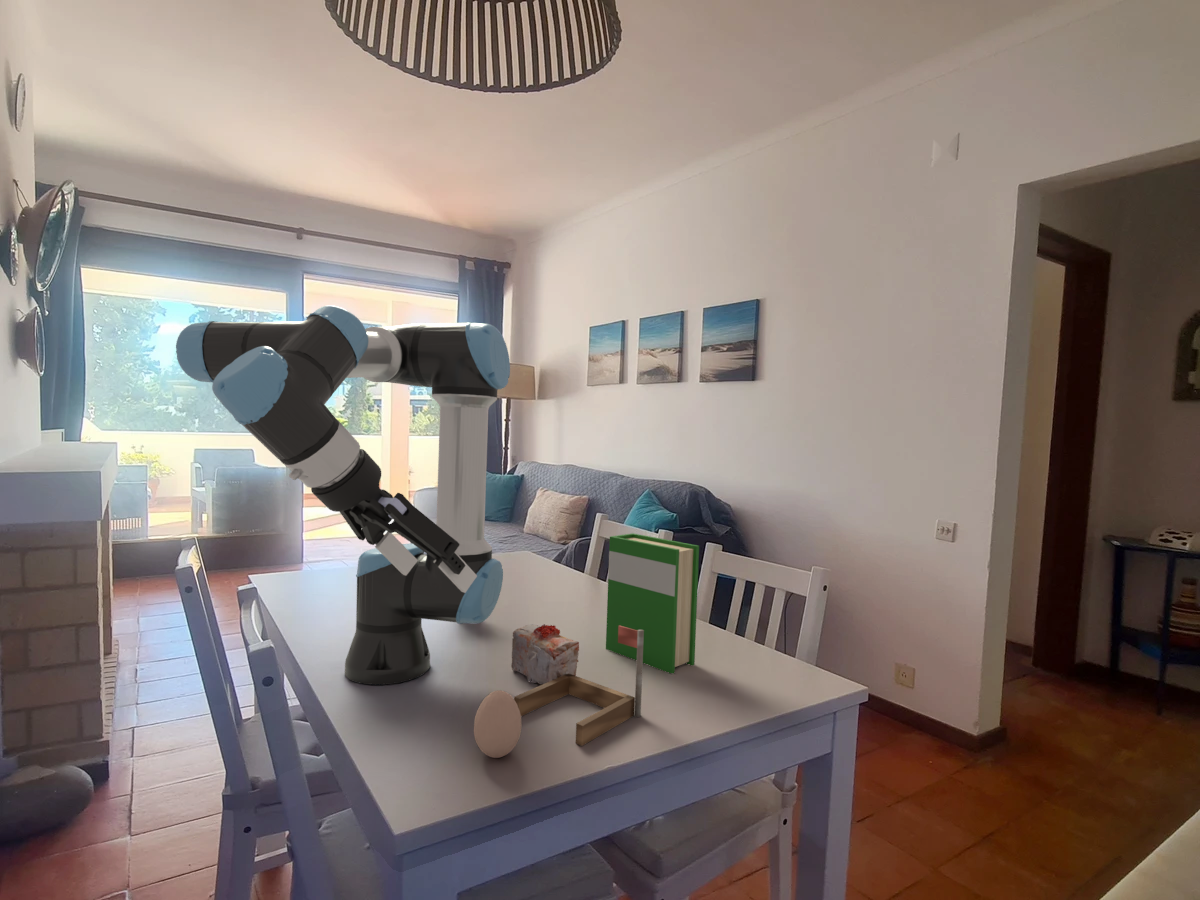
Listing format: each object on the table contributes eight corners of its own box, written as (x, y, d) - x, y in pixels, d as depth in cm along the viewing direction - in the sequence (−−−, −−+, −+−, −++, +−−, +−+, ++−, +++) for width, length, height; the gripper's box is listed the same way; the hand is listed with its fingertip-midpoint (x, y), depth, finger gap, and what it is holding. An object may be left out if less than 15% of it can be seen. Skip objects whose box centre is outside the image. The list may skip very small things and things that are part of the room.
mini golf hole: (513, 715, 99) (516, 628, 99) (571, 688, 110) (573, 610, 110) (586, 748, 90) (589, 653, 89) (641, 715, 101) (645, 630, 100)
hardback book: (694, 664, 124) (699, 545, 123) (671, 674, 118) (676, 549, 118) (629, 641, 136) (633, 533, 135) (605, 649, 131) (609, 536, 130)
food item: (584, 684, 113) (586, 630, 112) (551, 696, 107) (553, 640, 107) (536, 662, 122) (538, 613, 122) (504, 672, 116) (505, 621, 116)
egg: (505, 772, 82) (507, 705, 82) (463, 761, 85) (465, 696, 85) (528, 749, 89) (530, 687, 88) (489, 739, 91) (491, 678, 91)
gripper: (264, 483, 78) (371, 581, 90) (372, 502, 63) (482, 617, 75) (307, 441, 82) (403, 541, 94) (418, 450, 67) (515, 567, 79)
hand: (438, 575), depth 85 cm, fingers open, 12 cm apart
